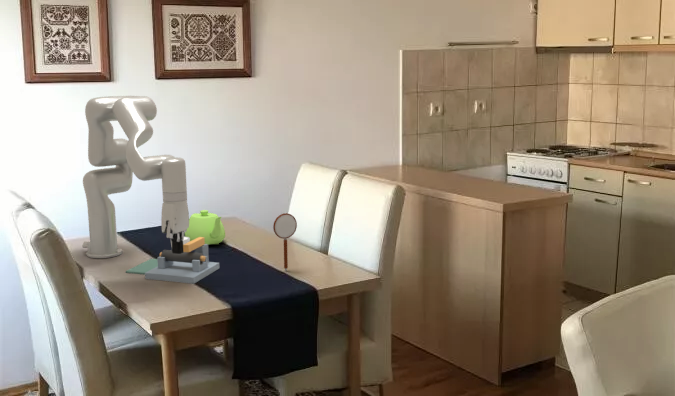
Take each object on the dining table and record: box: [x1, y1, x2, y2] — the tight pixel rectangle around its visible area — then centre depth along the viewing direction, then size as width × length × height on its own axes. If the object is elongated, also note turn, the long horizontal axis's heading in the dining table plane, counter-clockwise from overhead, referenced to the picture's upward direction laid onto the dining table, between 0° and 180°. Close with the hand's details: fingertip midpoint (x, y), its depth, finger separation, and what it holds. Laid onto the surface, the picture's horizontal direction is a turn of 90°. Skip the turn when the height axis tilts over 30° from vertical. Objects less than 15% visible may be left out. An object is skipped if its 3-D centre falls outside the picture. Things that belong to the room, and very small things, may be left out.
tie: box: [183, 237, 205, 252], centre depth 248 cm, size 2×11×2 cm, turn 162°
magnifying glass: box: [272, 212, 298, 272], centre depth 250 cm, size 9×2×20 cm, turn 120°
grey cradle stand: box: [144, 244, 220, 285], centre depth 249 cm, size 18×18×8 cm
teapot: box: [184, 209, 226, 246], centre depth 287 cm, size 22×15×13 cm
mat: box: [125, 258, 158, 276], centre depth 257 cm, size 8×16×1 cm, turn 162°
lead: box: [158, 249, 206, 264], centre depth 248 cm, size 16×4×4 cm, turn 72°
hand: (177, 252), depth 238 cm, fingers closed
